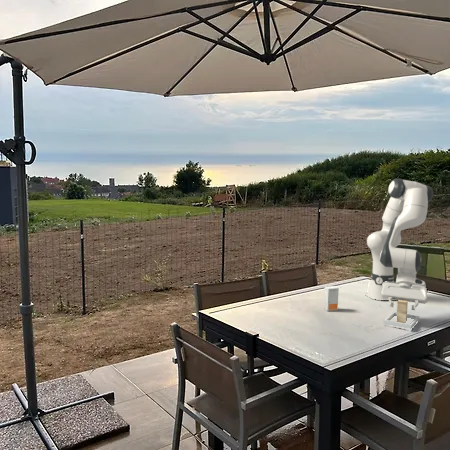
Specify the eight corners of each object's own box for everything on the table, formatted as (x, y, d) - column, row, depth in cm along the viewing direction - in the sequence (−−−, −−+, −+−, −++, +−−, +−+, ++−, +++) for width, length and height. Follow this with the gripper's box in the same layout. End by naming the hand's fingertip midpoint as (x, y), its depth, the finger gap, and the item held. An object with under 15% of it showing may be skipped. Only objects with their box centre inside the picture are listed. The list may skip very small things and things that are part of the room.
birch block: (397, 320, 199) (398, 299, 198) (406, 321, 197) (407, 301, 196) (396, 322, 196) (397, 301, 195) (405, 324, 194) (406, 303, 193)
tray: (393, 317, 206) (393, 311, 206) (419, 322, 199) (419, 316, 199) (383, 325, 194) (383, 319, 193) (410, 331, 187) (411, 325, 186)
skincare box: (327, 311, 214) (328, 288, 213) (323, 309, 219) (324, 286, 217) (338, 310, 216) (338, 287, 215) (333, 308, 220) (334, 285, 219)
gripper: (382, 276, 205) (378, 301, 198) (428, 282, 196) (426, 307, 188) (383, 283, 210) (379, 308, 202) (428, 289, 200) (426, 314, 193)
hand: (402, 308), depth 195 cm, fingers open, 8 cm apart
